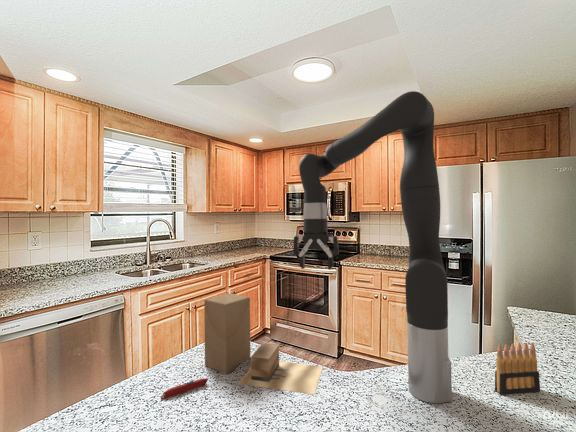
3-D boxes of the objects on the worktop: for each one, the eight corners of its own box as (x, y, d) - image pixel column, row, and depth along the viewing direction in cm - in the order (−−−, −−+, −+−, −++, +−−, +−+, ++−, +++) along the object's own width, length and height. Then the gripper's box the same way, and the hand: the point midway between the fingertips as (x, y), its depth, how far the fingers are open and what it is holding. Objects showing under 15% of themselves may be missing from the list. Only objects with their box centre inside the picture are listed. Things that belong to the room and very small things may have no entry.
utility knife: (207, 383, 80) (206, 376, 80) (208, 385, 79) (208, 377, 79) (160, 398, 74) (160, 390, 74) (161, 400, 73) (161, 392, 73)
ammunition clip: (500, 395, 73) (499, 345, 73) (494, 390, 75) (493, 342, 75) (540, 392, 74) (539, 343, 74) (533, 388, 76) (532, 340, 76)
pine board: (323, 371, 85) (323, 366, 85) (314, 400, 72) (314, 394, 72) (257, 363, 90) (257, 358, 90) (238, 389, 77) (238, 383, 77)
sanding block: (279, 365, 86) (278, 344, 86) (269, 382, 77) (268, 358, 77) (262, 363, 87) (262, 343, 87) (251, 379, 79) (251, 356, 79)
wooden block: (226, 375, 84) (225, 304, 84) (204, 365, 90) (203, 299, 90) (251, 361, 92) (250, 297, 92) (229, 353, 98) (228, 292, 98)
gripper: (339, 217, 96) (340, 267, 96) (296, 218, 100) (297, 266, 99) (336, 217, 89) (337, 271, 88) (290, 218, 92) (291, 270, 92)
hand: (316, 268), depth 94 cm, fingers open, 8 cm apart
